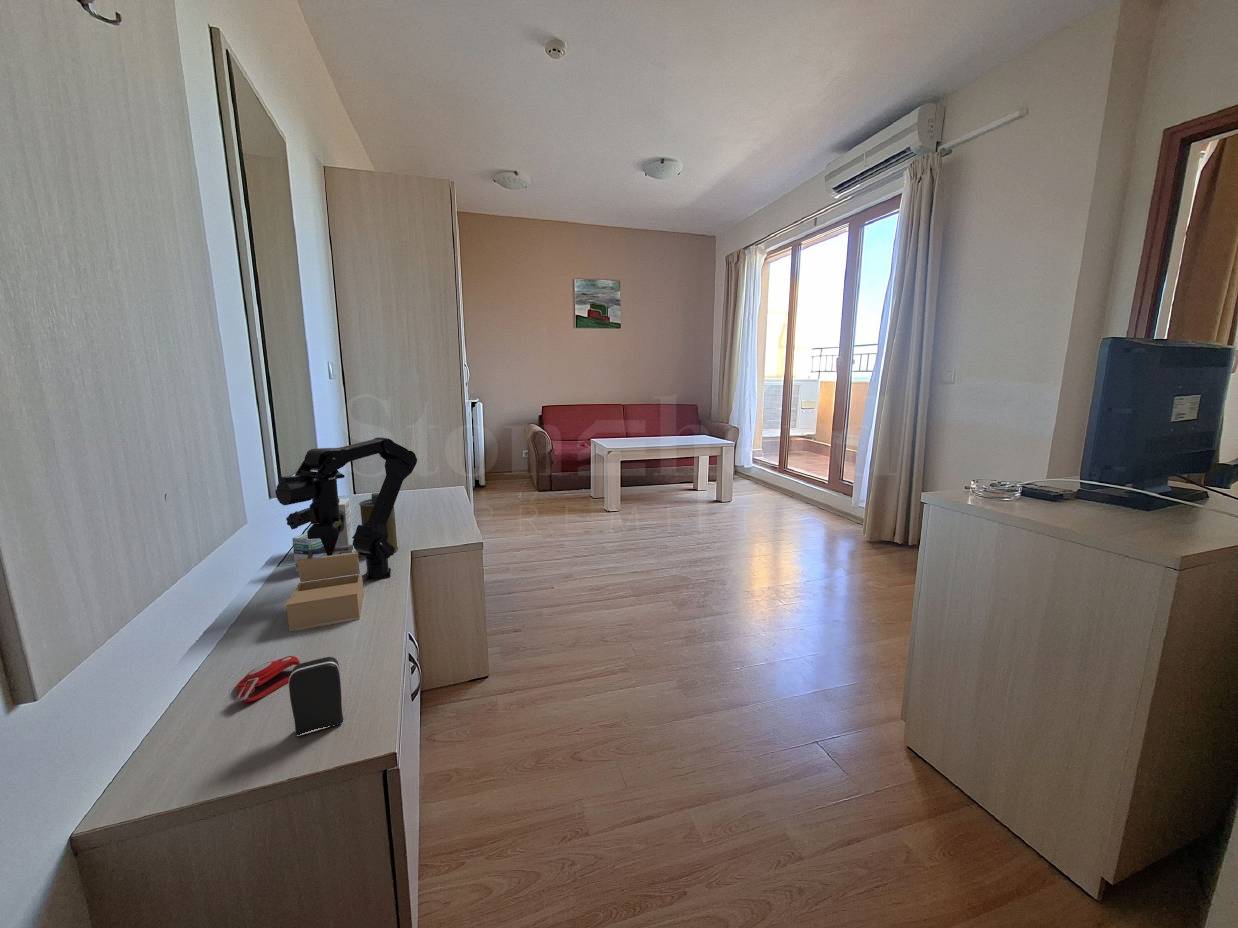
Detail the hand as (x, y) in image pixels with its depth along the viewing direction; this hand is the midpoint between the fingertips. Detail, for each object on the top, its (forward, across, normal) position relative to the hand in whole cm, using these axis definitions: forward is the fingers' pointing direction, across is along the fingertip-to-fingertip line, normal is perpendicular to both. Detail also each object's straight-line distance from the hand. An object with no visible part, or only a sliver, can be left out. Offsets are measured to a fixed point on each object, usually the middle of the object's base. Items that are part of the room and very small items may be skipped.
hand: (329, 555), depth 122 cm
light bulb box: (+11, -25, -6) cm, 28 cm away
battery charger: (+13, +54, +4) cm, 56 cm away
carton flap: (+2, +4, 0) cm, 5 cm away
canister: (+10, -32, +10) cm, 35 cm away
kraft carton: (+12, +10, 0) cm, 15 cm away
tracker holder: (+13, +38, -7) cm, 40 cm away
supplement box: (+10, -40, -4) cm, 42 cm away
